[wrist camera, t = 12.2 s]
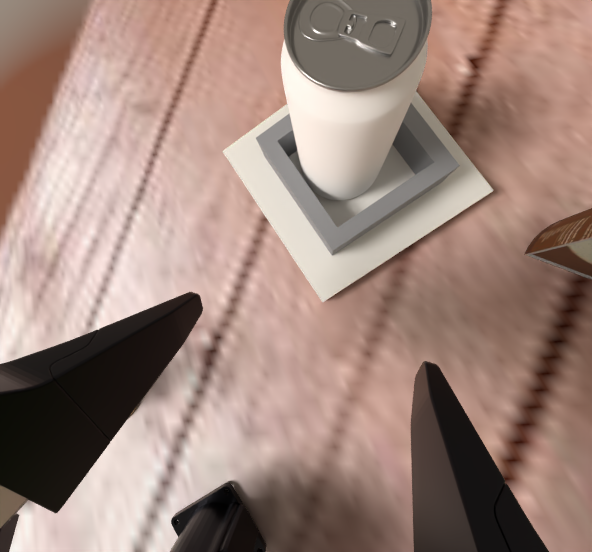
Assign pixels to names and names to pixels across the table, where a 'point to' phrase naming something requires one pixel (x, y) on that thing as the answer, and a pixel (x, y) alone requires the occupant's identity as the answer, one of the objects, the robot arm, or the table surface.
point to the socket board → (362, 209)
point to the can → (350, 85)
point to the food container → (566, 244)
